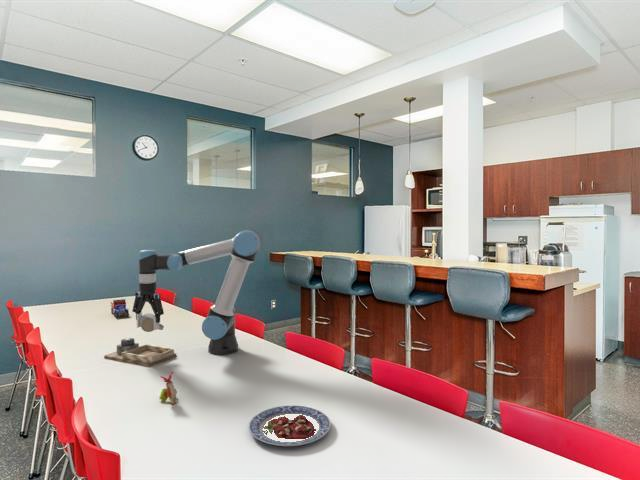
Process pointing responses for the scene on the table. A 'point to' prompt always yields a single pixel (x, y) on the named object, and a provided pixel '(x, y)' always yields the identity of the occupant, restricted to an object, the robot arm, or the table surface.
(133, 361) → the board
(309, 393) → the table surface
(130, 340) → the wheel
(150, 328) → the ceramic mug
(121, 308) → the toy truck
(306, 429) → the ceramic plate
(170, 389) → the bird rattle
